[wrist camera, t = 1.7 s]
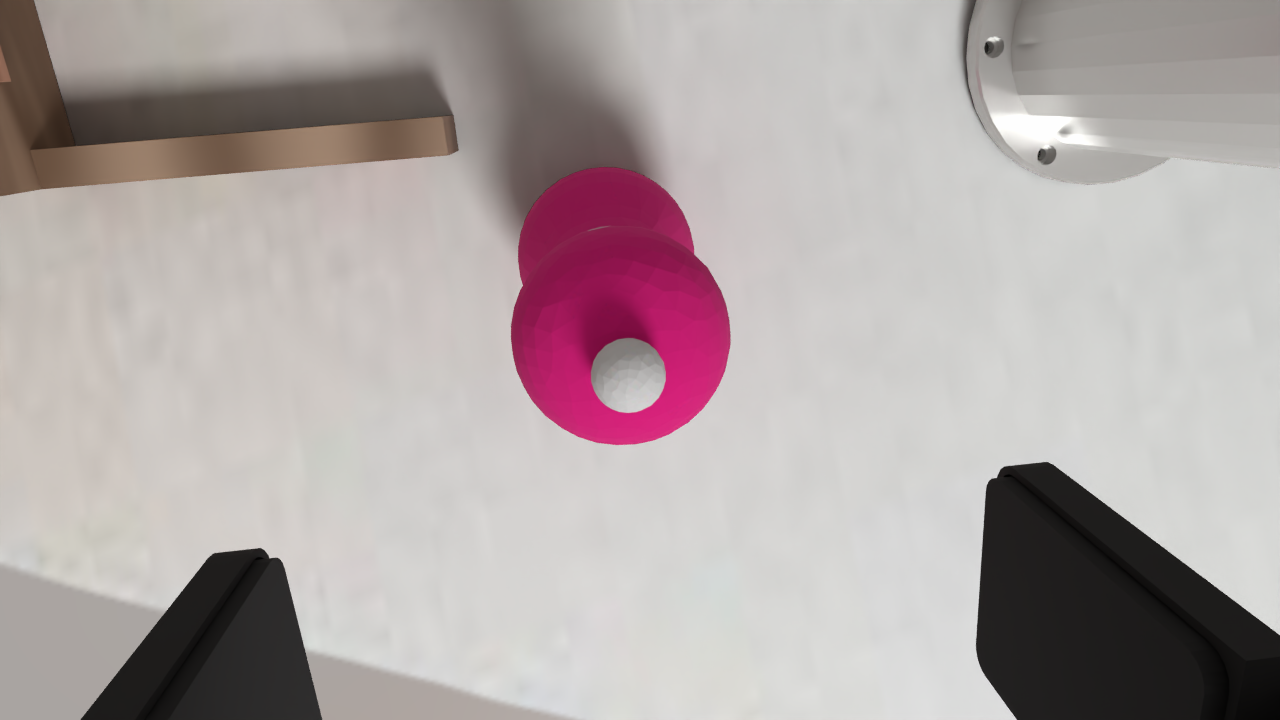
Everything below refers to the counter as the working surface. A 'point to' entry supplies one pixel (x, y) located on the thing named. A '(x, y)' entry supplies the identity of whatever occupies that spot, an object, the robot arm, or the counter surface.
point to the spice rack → (47, 156)
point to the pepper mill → (616, 310)
